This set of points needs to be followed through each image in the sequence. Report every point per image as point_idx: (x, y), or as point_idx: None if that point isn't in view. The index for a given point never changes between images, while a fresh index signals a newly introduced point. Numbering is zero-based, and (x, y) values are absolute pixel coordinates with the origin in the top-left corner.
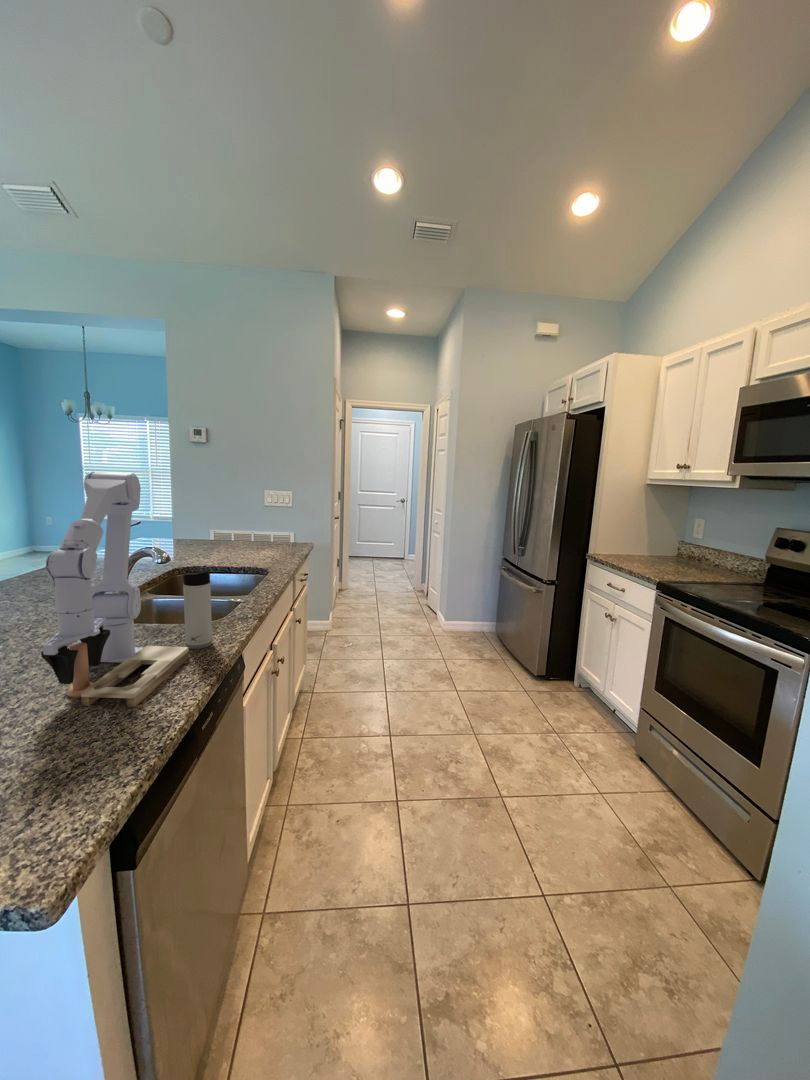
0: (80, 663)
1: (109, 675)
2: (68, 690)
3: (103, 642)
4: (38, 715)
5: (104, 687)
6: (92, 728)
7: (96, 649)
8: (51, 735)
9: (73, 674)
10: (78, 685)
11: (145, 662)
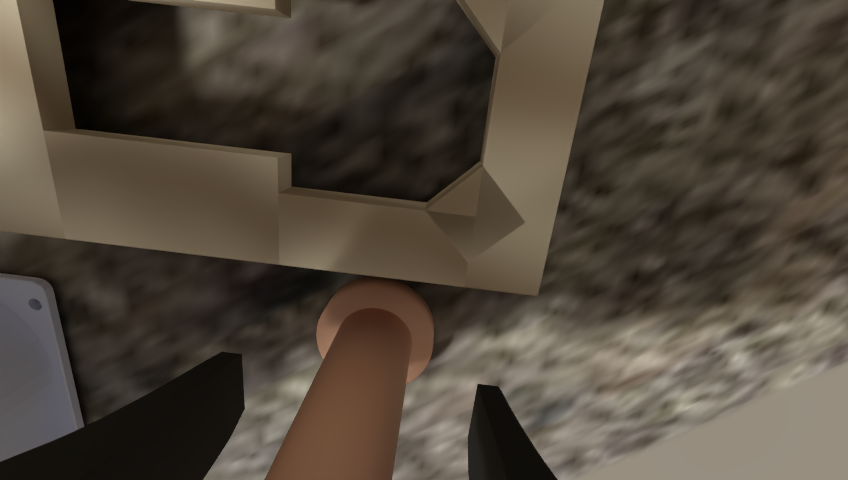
0: (378, 453)
1: (312, 236)
2: (406, 381)
3: (41, 473)
4: (583, 390)
5: (488, 183)
6: (792, 82)
7: (146, 460)
8: (794, 252)
9: (490, 418)
10: (408, 354)
11: (57, 100)
